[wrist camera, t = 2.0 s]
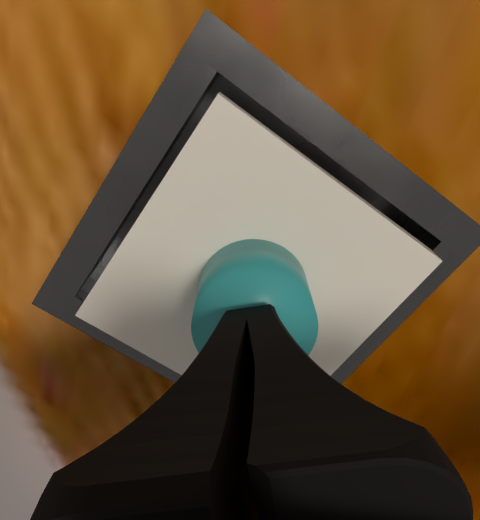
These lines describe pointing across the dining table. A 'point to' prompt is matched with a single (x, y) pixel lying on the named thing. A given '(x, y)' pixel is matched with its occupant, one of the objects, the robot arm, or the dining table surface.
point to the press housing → (284, 125)
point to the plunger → (253, 250)
